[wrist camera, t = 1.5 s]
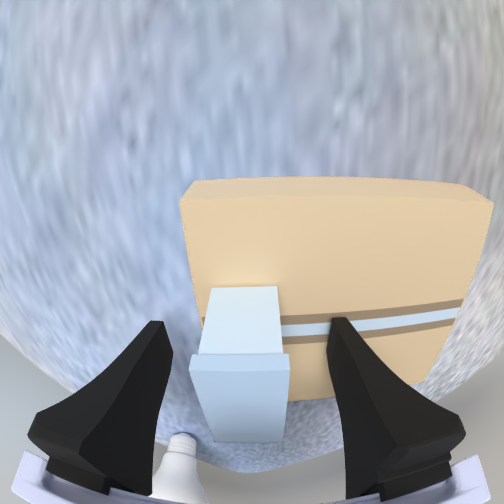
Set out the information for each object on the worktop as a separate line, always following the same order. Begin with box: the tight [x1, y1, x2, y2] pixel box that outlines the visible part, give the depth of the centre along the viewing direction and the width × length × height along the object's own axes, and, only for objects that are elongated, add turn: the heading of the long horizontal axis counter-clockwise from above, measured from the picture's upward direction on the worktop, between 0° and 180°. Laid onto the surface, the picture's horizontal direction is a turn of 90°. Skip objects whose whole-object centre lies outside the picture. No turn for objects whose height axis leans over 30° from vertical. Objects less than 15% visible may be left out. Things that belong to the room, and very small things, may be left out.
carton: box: [179, 176, 494, 401], centre depth 13 cm, size 13×12×3 cm
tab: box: [189, 286, 290, 443], centre depth 11 cm, size 3×5×4 cm, turn 3°
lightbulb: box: [148, 433, 209, 504], centre depth 18 cm, size 6×6×11 cm
